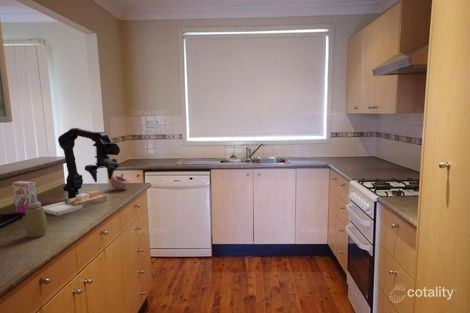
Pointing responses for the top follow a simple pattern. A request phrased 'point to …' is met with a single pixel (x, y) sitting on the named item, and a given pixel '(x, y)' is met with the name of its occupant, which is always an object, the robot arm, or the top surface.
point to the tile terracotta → (93, 193)
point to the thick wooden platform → (87, 201)
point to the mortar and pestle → (119, 182)
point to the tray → (60, 208)
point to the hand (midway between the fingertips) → (103, 180)
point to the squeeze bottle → (35, 219)
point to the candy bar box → (23, 195)
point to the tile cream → (82, 196)
